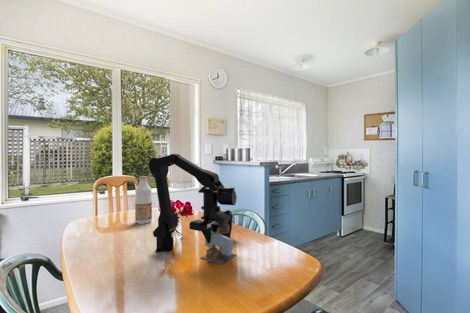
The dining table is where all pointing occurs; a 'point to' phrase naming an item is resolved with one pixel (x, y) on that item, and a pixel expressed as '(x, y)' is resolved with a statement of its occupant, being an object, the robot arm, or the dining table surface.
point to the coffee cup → (226, 228)
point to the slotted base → (216, 256)
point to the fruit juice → (143, 202)
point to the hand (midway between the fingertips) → (210, 242)
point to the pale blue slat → (220, 243)
